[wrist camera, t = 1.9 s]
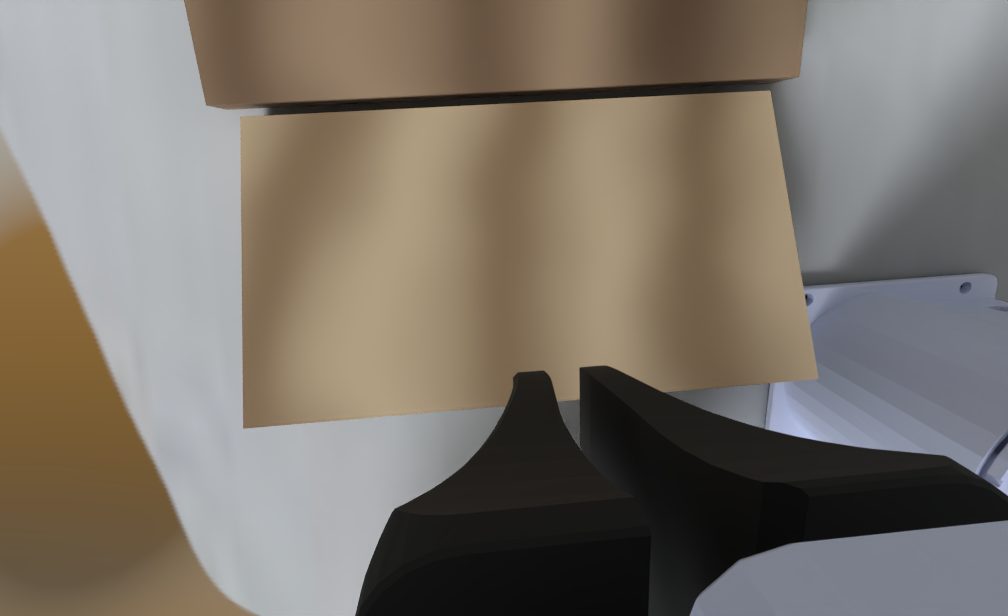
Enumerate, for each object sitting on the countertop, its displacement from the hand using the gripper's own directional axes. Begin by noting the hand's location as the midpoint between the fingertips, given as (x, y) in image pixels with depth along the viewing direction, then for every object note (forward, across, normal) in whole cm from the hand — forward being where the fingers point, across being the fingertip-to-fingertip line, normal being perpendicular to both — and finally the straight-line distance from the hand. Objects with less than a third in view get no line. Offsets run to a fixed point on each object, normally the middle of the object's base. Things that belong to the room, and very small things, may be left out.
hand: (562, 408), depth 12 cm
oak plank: (+7, 0, -2) cm, 7 cm away
